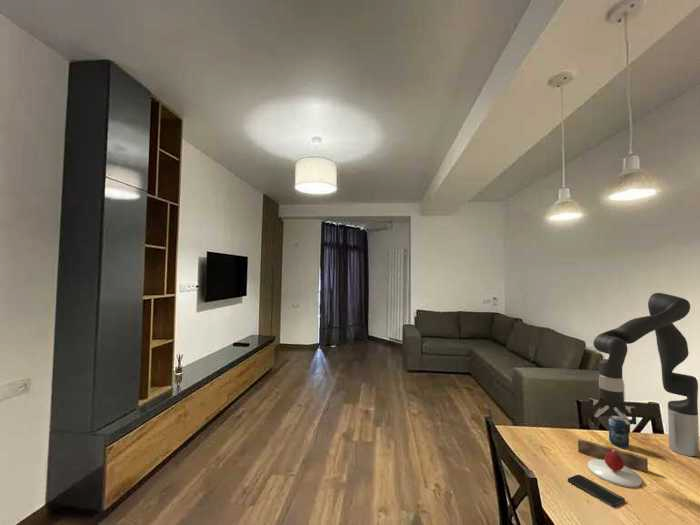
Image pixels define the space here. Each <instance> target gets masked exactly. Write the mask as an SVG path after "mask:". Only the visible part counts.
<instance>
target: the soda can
mask: <svg viewBox="0 0 700 525" xmlns="http://www.w3.org/2000/svg"><path fill="white" fill-rule="evenodd" d="M608 440H609V442H610V444H611V445H613V446H615V447H617V448H621V449H627V448H628V447H629V446H630V433H628V434H625V422H624V420H623V419H622V418H621V417H620V416H619V415H617V416H615V415H612V414H610V416H609V418H608Z"/></svg>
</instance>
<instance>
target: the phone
mask: <svg viewBox="0 0 700 525" xmlns="http://www.w3.org/2000/svg"><path fill="white" fill-rule="evenodd" d="M568 482H569V483H568ZM567 483H568V484H570V483H571V484H570V485H572V486H573V485H574V486H573V487H575V486H576V487H575V488H577V489H579V490H580V489H581V490H580V491H582V490H583V491H582V492H584V493H586V494H587V495H589V494H590V495H589V496H591V497H592V498H594V499H596V498H597V499H596V500H598V499H599V501H600V502H601V503H603V502H604V504H605V505H607V506H609V507H610V508H618V507H619V506H622V505H623V504H625V503H626V499H625V498H624V497H623V496H622V495H619V494H617V493H615V492H613V491H612V490H610V489H608V488H606V487H604V486H603V485H600V484H598V483H597V482H594V481H593V480H591V479H590V478H589V479H588V478H587V477H585V476H583V475H581V474H575V475H573V476H571V477H568V478H567Z"/></svg>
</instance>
